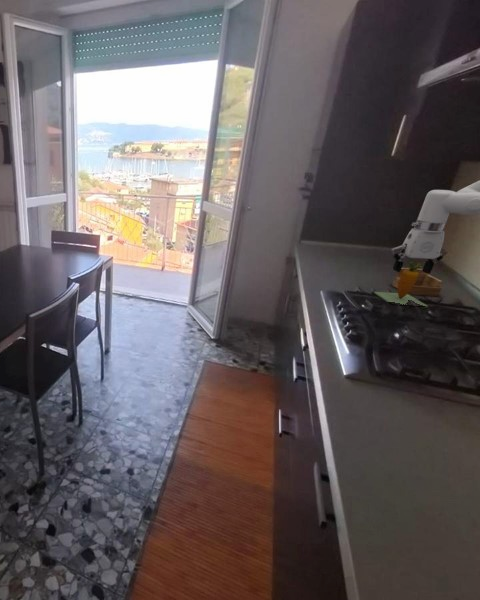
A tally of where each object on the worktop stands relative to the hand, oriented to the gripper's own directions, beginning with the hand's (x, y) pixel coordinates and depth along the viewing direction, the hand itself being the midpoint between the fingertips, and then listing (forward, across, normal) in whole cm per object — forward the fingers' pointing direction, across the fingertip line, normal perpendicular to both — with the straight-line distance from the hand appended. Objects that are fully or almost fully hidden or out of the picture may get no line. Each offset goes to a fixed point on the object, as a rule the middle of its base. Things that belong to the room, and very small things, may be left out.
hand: (410, 271), depth 133 cm
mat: (+12, 0, 0) cm, 12 cm away
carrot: (+11, 0, 0) cm, 11 cm away
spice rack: (+12, +12, +12) cm, 21 cm away
